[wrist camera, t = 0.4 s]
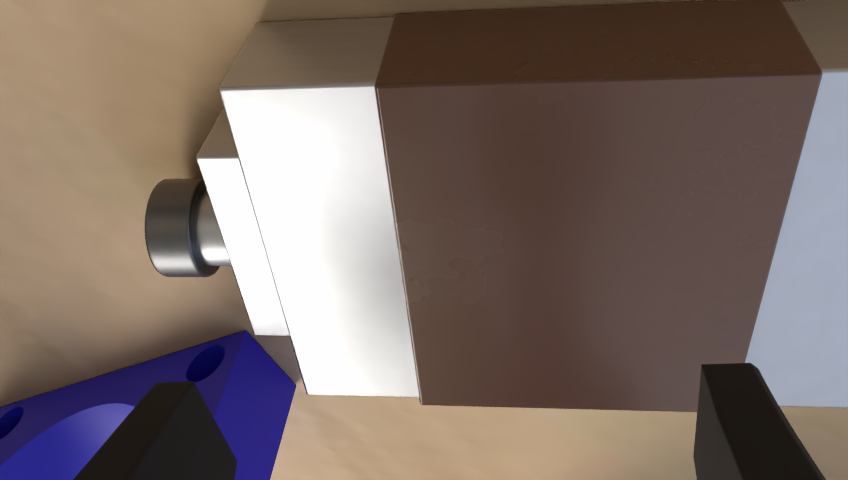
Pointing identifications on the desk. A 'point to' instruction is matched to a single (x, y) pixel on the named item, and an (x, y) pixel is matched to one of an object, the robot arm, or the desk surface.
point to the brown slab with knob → (535, 201)
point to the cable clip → (122, 390)
